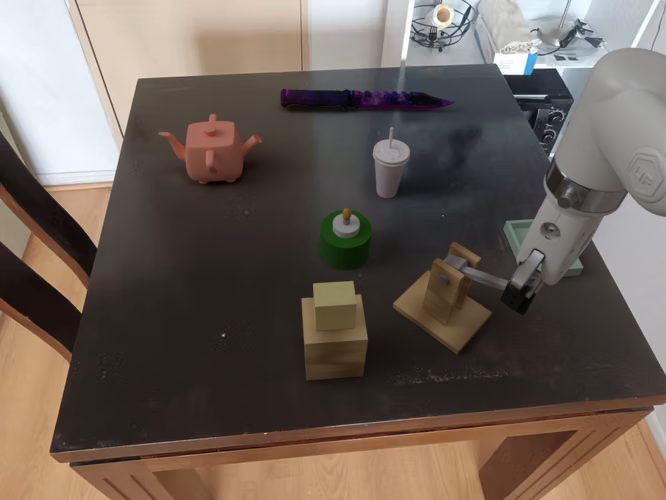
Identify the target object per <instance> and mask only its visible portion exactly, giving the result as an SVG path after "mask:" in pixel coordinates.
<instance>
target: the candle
mask: <svg viewBox="0 0 666 500" xmlns="http://www.w3.org/2000/svg"><path fill="white" fill-rule="evenodd" d="M372 226H373V225H372V223H371V221H370V220H369V219H368V218H367V217H366V216H365V215H363V214H362V213H360V212H359V211H355V210H351V209H350V208H349V207H346V208H344V209H340V210H336V211H332V212H330V213H329V214H327V215H326V216H325V217H324V218H323V219H322V221H321V223H320V227H319V235H320V236H319V243H320V244H319V245H320V246H319V247H320V248H319V249H320V250H319V251H320V256H321V258H322V260H323V261H324V263H326V264H327V265H328V266H329V267H331V268H334V269H336V270H341V271H351V270H355V269H357V268H360V267H362V266H363V265H364V264H365V263H366V262H367V261H368V259H369V258H370V253H371V243H372V234H373V227H372Z"/></svg>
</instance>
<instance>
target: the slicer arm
mask: <svg viewBox="0 0 666 500" xmlns="http://www.w3.org/2000/svg"><path fill="white" fill-rule="evenodd" d="M442 261H444V262H445V263H447V264H449V265H450V266H452V267H453V268H455V269H456V270H458V271H459V272H461V273H462V274H464V275H465V276H464V277H466V278H469V279H472V280H473V281H475V282H478V283H480V284H483V285H486V286H488V287H491V288H494V289H497V290H500V291H503V292H504V290H505V288H506V285H507V283H508V281H509V280H508V279H504V278H501V277H499V276H496V275H493V274H490V273H487V272H484V271H481V270H479V269H477V270H476V269H473V268H470V267H468V263H467V259H464V258H461V257H458V256H455V255H452V254H450V255H448V254H447V256H446V257H445V258H444V259H442ZM532 284H533V282H532V283H531V284H530V285H529V286H530V287H531V285H532ZM544 286H545V282H543V281H541V283H540V284H539V286H538V287H537V289H536V290H535V292H534V293H535V294H536V295H537V294H538V293H539V292H540V291H541V289H542V288H543V287H544Z"/></svg>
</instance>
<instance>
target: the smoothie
mask: <svg viewBox="0 0 666 500" xmlns="http://www.w3.org/2000/svg"><path fill="white" fill-rule="evenodd" d="M394 129H395V128H394V126H391V127H390V128H389V136H388V137H389V138H386V139H382V140H380V141H377V143H375V145H374V146H373V150H372V157H373V159H374V168H375V169H374V170H375V185H376V188H375V189H376V193H377V195H378V196H379V197H381V198H383V199H391V198H394V197H395V196H396V195H397V193H398V190H399V186H400V183H401V180H402V178H403V177H402V176H403V174H404V171H405V167H406V165H407V163H408V161H409V160H410V156H411V149H410V147H409V145H407V144H406V143H405V142H403V141H401V140H398V139H394V138H393V137H394Z"/></svg>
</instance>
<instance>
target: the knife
mask: <svg viewBox="0 0 666 500" xmlns="http://www.w3.org/2000/svg"><path fill="white" fill-rule="evenodd" d="M279 94H280V95H279V96H280V99H279V100H280V106H281V107H282V108H283V109H286V108H288V106H305V107H309V108H327V107H338V106H340V107H341V108H342V109H343V110H344V112H348V108H354V110H359V109H363V110H364V109H366V110H367V109H371V110H372V109H373V110H411V111H412V110H413V111H415V110H416V111H430V110H436V109H439V108H445V107H448V106H450V105H452V104H455V103H456V101H454V100H450V99H445V98H440V97H435V96H432V95H430V94H428V93H425V92H422V91H410V92H409V93H407V92H406V91H404V90H403V91H401V92H400V93H399V92H397V90H392V91H391V92H389V91H387V90H383V91H382V92H380V91H378V90H373V92H371V91H369V90H364V92H362V91H361V90H359V89H356V90H355V89H349V88H346V89H343V90H341V89H340V90H338V89H337V90H335V89H334V90H333V89H288V88H287V89H286V88H283V89H281V90H280V93H279Z"/></svg>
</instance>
